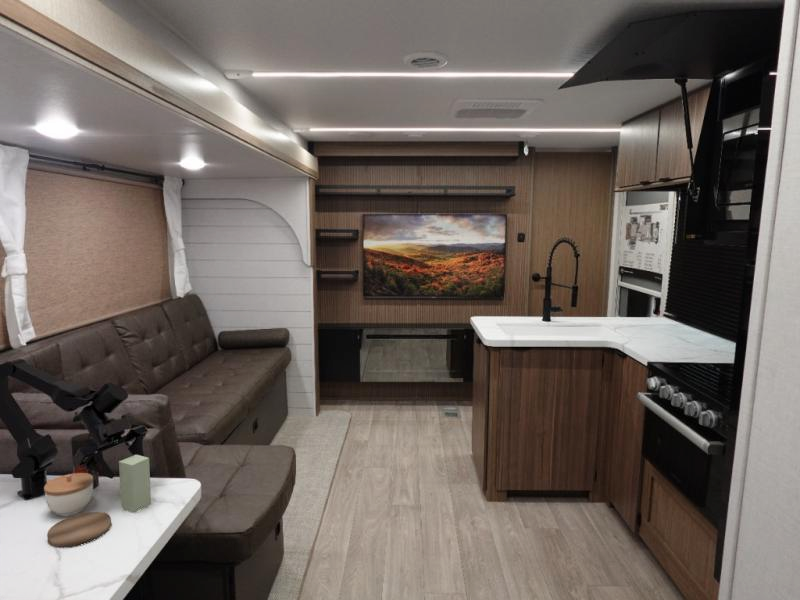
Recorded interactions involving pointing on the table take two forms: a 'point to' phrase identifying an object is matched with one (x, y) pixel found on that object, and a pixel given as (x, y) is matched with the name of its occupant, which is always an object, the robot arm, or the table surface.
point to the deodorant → (77, 443)
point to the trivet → (79, 529)
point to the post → (135, 483)
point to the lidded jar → (69, 493)
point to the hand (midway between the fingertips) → (128, 470)
